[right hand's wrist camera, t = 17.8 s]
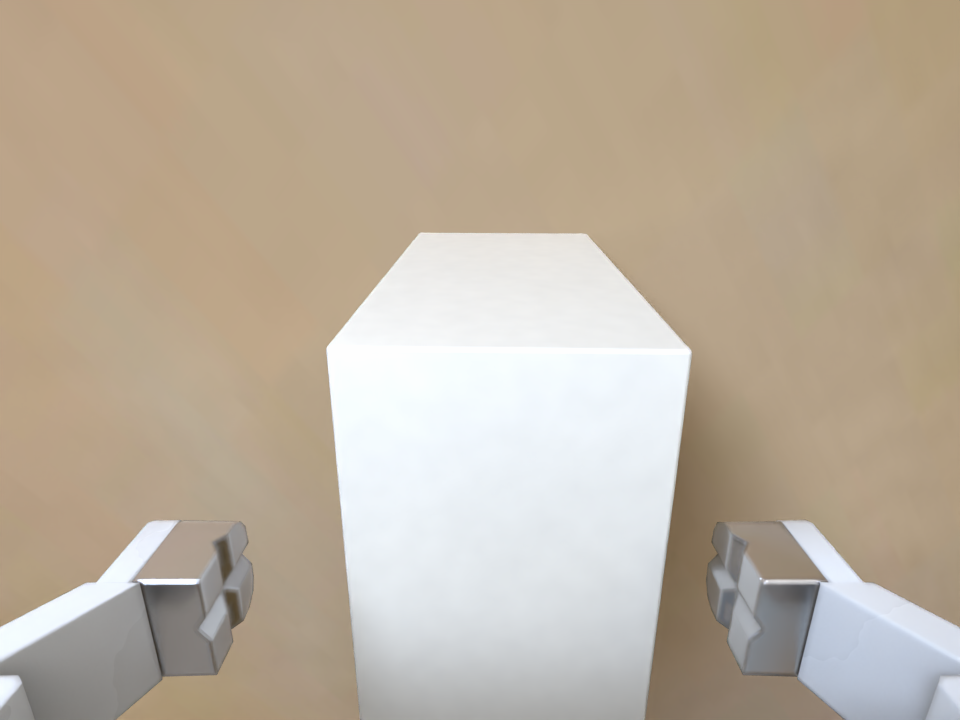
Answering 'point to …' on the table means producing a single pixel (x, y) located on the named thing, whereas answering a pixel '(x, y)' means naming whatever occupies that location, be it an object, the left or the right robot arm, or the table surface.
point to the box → (506, 480)
